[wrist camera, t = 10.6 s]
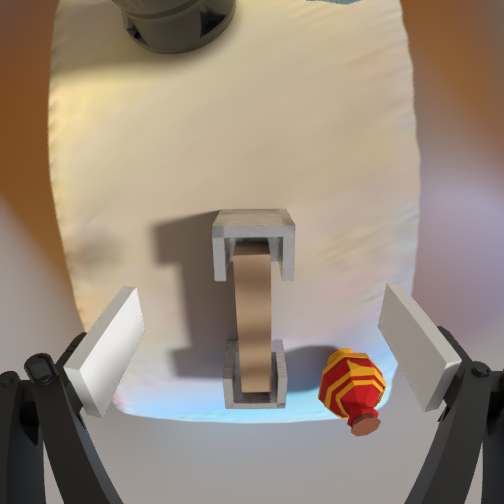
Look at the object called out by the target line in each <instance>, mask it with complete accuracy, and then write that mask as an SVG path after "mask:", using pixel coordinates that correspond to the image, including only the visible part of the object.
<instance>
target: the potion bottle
mask: <svg viewBox="0 0 504 504" xmlns="http://www.w3.org/2000/svg"><path fill="white" fill-rule="evenodd" d="M369 359H370V358H369V357H368V356H367V354H366V353H354V352H353V351H352V350H351V349H338V350H337V351H335V352H334V353H333V354H331V355H330V356H329V357H328V362H327V367H326V368H324V369H323V372H322V378H321V384H320V389H319V395H318V399H319V400H320V401H321V402H322V403H323V404H324V406H325V407H326V408H328V409H329V410H330V411H331V412H333V413H334V414H335V415H336V416H338V417H340V418H342V419H344V418H349V419H348V423H347V424H348V425H349V426H350V427H352V429H351V433H353V434H354V435H356V436H363V435H368V434H370V433H371V432H373V431H375V430H376V429H377V428H378V426H379V424H380V422H381V421H380V420H379V419H378V418H377V416H378V412H377V411H376V410H375V409H374V407H376V406H377V404H378V403H380V401H381V398H382V396H383V393H384V391H385V388H386V385H385V380H384V379H383V377H382V373H381V371H380V370H379V368H378V367H377V366H376V365H375V364H374V363H373V361H372V360H371V359H370V360H369ZM372 363H373V364H374V365H375V366H374V365H373V364H372ZM382 386H383V387H382ZM380 392H381V394H380ZM379 395H380V396H379ZM378 397H379V399H378Z"/></svg>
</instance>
